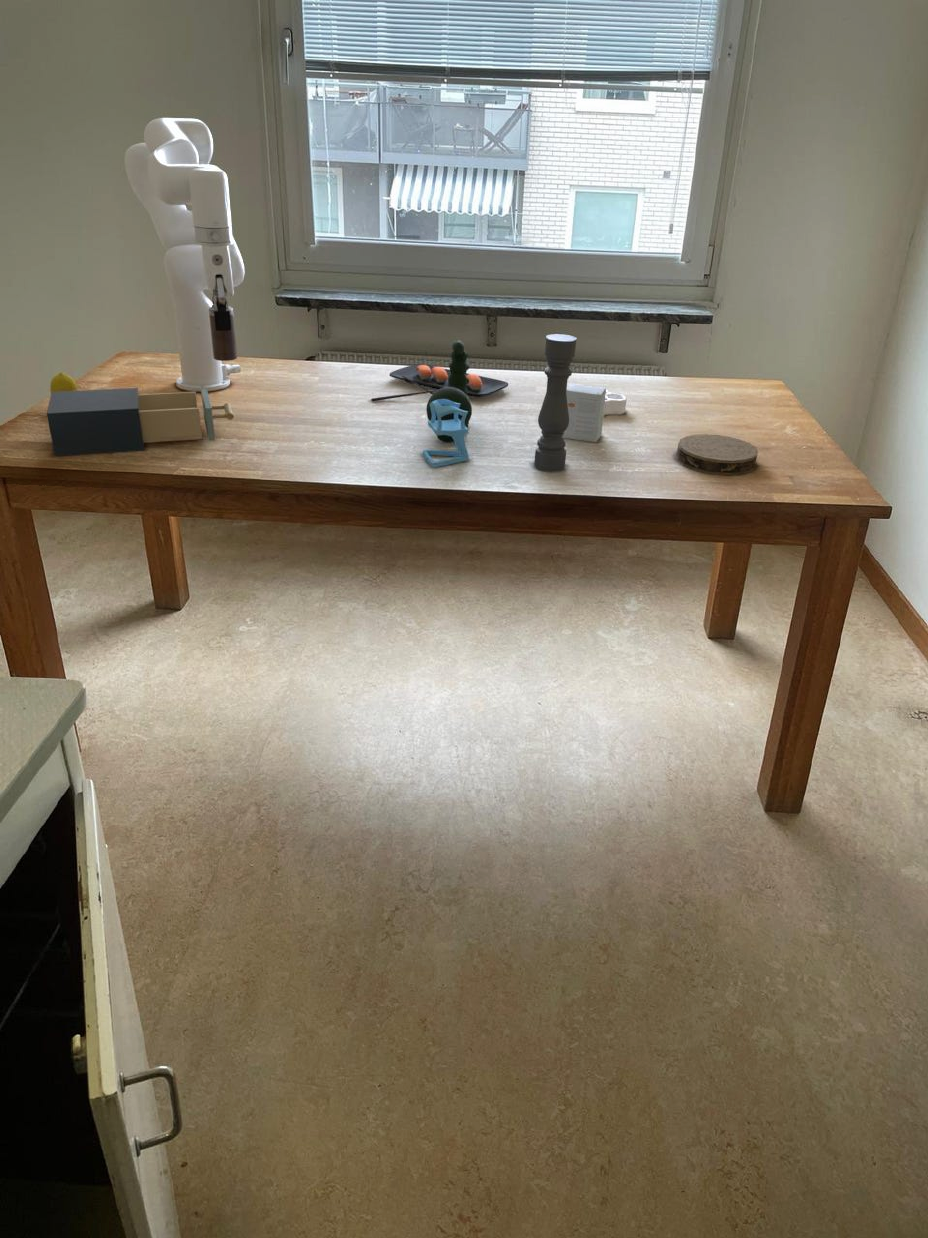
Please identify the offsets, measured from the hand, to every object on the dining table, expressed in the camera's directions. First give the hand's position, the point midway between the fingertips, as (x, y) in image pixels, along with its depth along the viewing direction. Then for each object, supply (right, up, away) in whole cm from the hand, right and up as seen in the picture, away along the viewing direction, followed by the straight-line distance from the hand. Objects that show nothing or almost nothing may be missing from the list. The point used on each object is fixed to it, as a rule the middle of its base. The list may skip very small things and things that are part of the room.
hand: (222, 326), depth 191 cm
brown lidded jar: (0, -6, +3) cm, 7 cm away
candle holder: (+69, -32, -13) cm, 77 cm away
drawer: (-6, -24, -7) cm, 26 cm away
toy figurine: (+49, -22, +2) cm, 54 cm away
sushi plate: (+44, -8, +27) cm, 52 cm away
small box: (+77, -23, +3) cm, 81 cm away
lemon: (-36, -17, +6) cm, 40 cm away
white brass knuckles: (+81, -13, +21) cm, 85 cm away
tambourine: (+104, -30, -7) cm, 108 cm away
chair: (+49, -31, -13) cm, 59 cm away
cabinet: (-21, -27, -11) cm, 36 cm away
